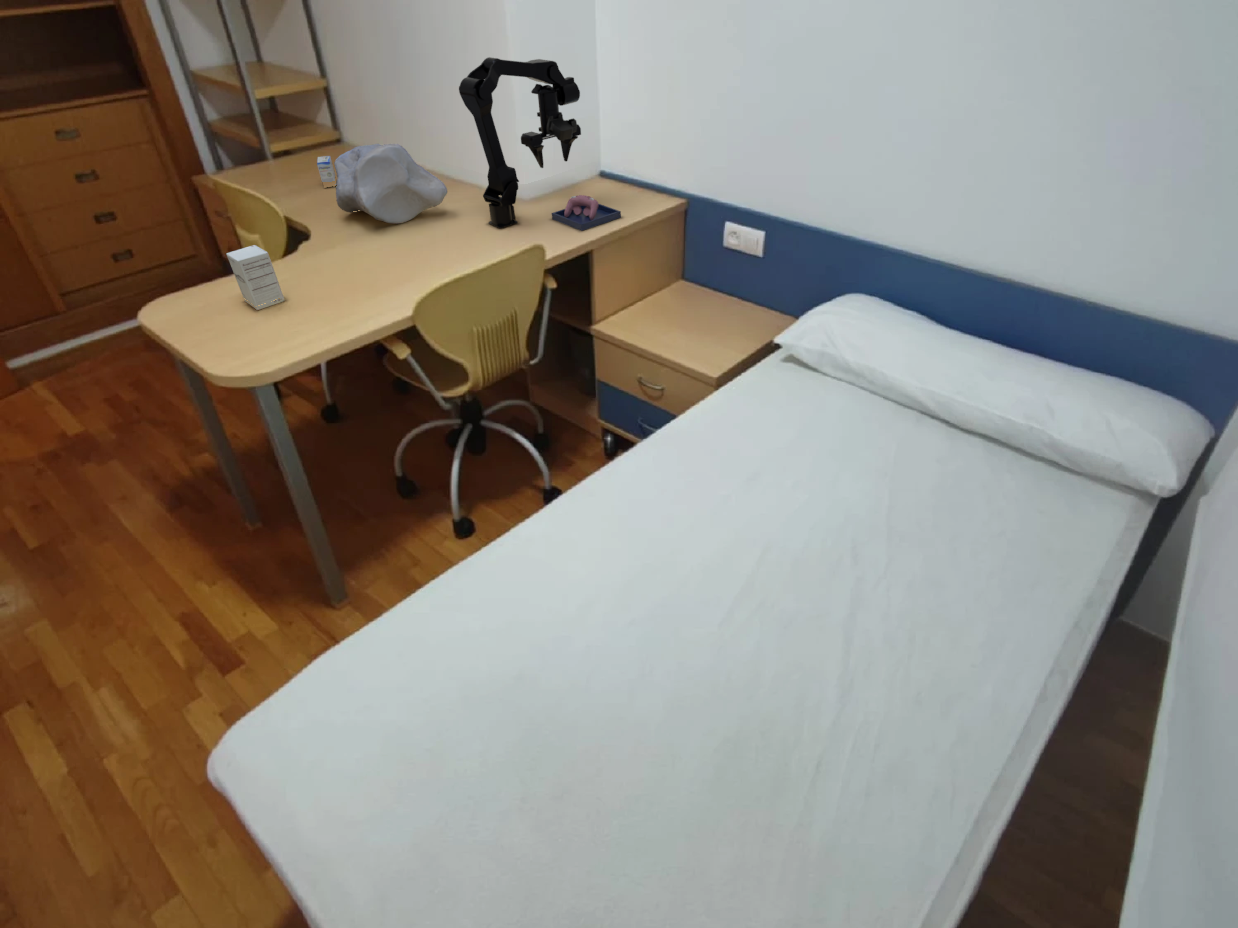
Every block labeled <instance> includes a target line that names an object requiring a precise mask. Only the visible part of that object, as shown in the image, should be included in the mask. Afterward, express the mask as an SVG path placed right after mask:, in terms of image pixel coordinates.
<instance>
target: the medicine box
mask: <svg viewBox="0 0 1238 928" xmlns="http://www.w3.org/2000/svg"><path fill="white" fill-rule="evenodd" d="M333 164H334V163H333V161H332V157H331V155H322V156H317V159H316V165H317V169H318V173H319V176H320V180H321V183H322V182H332V181H335V176H336V171H335V167H334V165H333ZM335 185H337V183H336V184H335Z"/></svg>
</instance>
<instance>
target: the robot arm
mask: <svg viewBox="0 0 1238 928" xmlns="http://www.w3.org/2000/svg"><path fill="white" fill-rule="evenodd" d="M502 76H511V77H519V78H520V77H522V78H526V79H529V80H531V81H534V82H538V83H536V84H534V87H533V88H532V89H531V91H530V93H531V94H534V95H537V100H538V112H536V117H539V121H540V122H539V123H540V127H538V132H534V131H527V132H524V133H522V134H521V135H520V144H521V145H524V146H525V147H527V148H529V150H530V152H531V153H532V155H533V156H534V158H535V160H536V162H537V164H538V165H539V168H541V169H544V156H543V150H544V147H545V145H543V143H544V141H545V140H548V139H552V138H556V139H557V141H559V143H560V147H561V152H562V158H563V161H564V162H568V161H569V157H570V152H571V148H572V145H573V143H574V142H575V140H577V139H578V138H579V136H581V135H582V128H581V126H580V125H579V124H578V123H577V120H576V119H575V118H570V119H566V120H565V119H564V117H563V112H562V111H560V108H559V107H560V106H561V107H562V106H566V105H569V104H574V103H577V102H578V101H579V100H580V97H581V91H580V88H579V85H578V84H577V83H576V81H575V78H574V77H572V76H567V77H564V75H563V73H562V72H561V70H560V68H559V66H558V63H557V62H556V61H554V60H548V59H541V58H536V59H530V60H528V61H518V60H509V59H501V58H497V57H490V56H489V57H486V58H484V60H483V61H482V62H481V63H480V65H478V66H477V67H476V68H474V69H473V70H472V71H470V72H469V73H468V74H467V76H466V77H464V78H463V79H462V80H461V82H460V84H459V86H458V93H459V96H460V97H461V100H462V102H463V104H464V106H465V108H467V110H468V111H469V112H470V114H471V115H472V116H473V119H474V123H475V125H476V129H477V132H478V136H479V138H480V139H479V140H480V142H481V145H482V148H483V152H484V155H485V158H486V162H487V165H488V171H487V183H488V184H487V187H486V189H485V191H484V192H483V194H482V197H483V200H484V201H485V202H486V203H488V210H489V216H490V221H488V224H489V225H491V226H493V227H495V228H498V229H503V228H506V227H511V226H513V225H517V224H518V220H516V212H515V206H514V205H515V204H516V201H517V196H518V195H517V194H518V190H519V183H520V180H519V179H518V177H517V171H516V168H515V167H512V166H508V164H507V163H506V160H505V156H504V153H503V149H502V145H501V142H500V139H499V136H498V131H497V127H496V124H495V121H494V117H493V113H492V109H493V103H494V99H493V93H494V91H495V90H496V88H497V87H498V84H499V80H500V78H501V77H502ZM540 83H543V84H544V85H542V84H540Z"/></svg>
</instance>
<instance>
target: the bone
mask: <svg viewBox="0 0 1238 928" xmlns="http://www.w3.org/2000/svg"><path fill="white" fill-rule="evenodd" d="M333 164H334V165H333V166H334V170H335V174H336V185H337V186H336V187H335V198H336V200H335V201H336V204H337V207H338V208H339V209H340V210H341V211H344V212H346V213H358V212H364V213H366V214H368V215H369V216H371V217H372V218H374V219H375V221H381V222H384V223H386V224H397V225H398V224H402V223H406V222H409V221H411V220H413V219H414V218H415V217H417V216H418V215H419V214H420V213H422V212H424V211H425V210H428V209H431V208H435V207H438V206H439V205H441V204H442V203H443V202H444V199H445V197H446V196H447V194H448V188H447V186H446V184H445V183H444V181H442V180H441V179H439V177H437V176H436V175H434V174H433V173H431V172H430V171H428V170H427V169H425V167H423V166H422V165H420V164H418V163H417V162H416V161H415V160H414V158H413V157H412V156H411V154H410V153H409V151H408V150H407V149H406V148H405V147H403V146H402V145H401V144H399V143H384V144H380V143H374V144H365V145H358V146H355V147H353V148H352V149H350V150H348V151H345V152H344V153H341V154H340V155H339V156H338V157H337V158H336V159H335V160H334V162H333ZM358 210H360V211H358ZM353 211H357V212H353Z"/></svg>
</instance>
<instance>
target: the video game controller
mask: <svg viewBox="0 0 1238 928" xmlns="http://www.w3.org/2000/svg"><path fill="white" fill-rule="evenodd" d="M599 204H600V203H599V202H598V200H597V199H595V198H594V197H592V196H589V195H584V194H583V195H582V194H578V195H572V196H570V198H569V199H568V200H567V203H566V206H565V208H564V209H565V211H564V215H565V217H568V216H569V215H570V214H571V212H572V210H574V213H575V214H576V215H581V213H582V209H581V207H580V206H587V207H586V208H585V209H584V211H583V213H584V215H585V216H589V217H590V220H593V219H594V218H595V215H596V212H597V209H598V205H599Z"/></svg>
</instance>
